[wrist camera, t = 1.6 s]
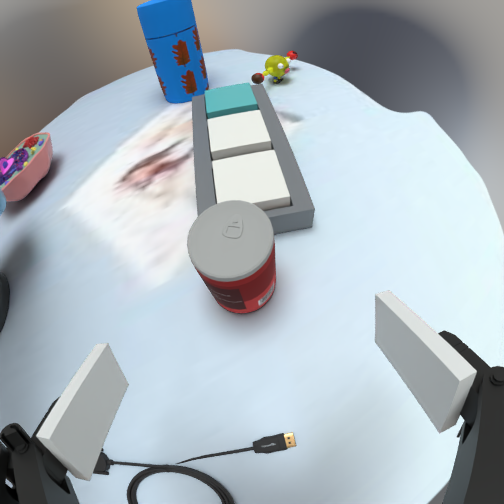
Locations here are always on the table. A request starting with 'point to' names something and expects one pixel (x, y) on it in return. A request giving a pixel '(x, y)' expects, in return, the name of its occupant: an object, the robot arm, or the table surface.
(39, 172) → the cell model
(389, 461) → the table surface
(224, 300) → the canned food
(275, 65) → the toy figure
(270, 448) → the cable
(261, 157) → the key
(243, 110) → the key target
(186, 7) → the thermos
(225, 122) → the key middle
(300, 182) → the keypad frame
